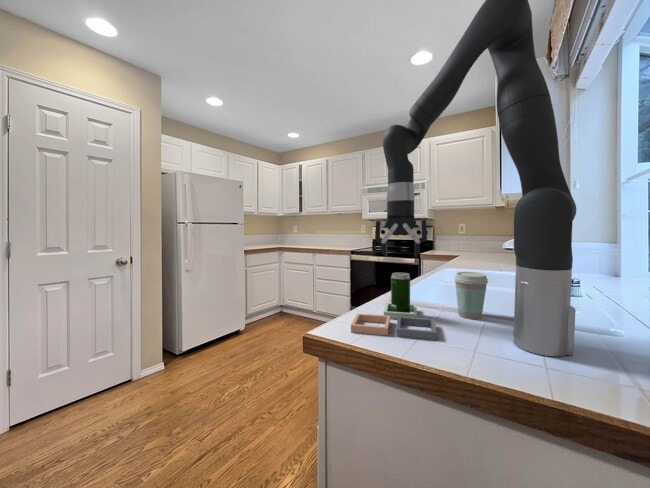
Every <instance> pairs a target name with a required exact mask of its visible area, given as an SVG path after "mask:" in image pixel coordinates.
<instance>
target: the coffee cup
mask: <svg viewBox="0 0 650 488" xmlns="http://www.w3.org/2000/svg"><path fill="white" fill-rule="evenodd" d="M453 280H454V285H455V291H456V302H457V310H458V311H457V313H458V315H459V317H461V318H464V319H469V320H479V319H481V318H482V316H483V311H484V304H485V299H486V298H485V297H486V292H487V284H488V283H489V282H488V281H489V280H488V277H487V274H485V273H482V272H475V271H458V272H456V273H455V276H454V279H453Z"/></svg>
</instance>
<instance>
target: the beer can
mask: <svg viewBox="0 0 650 488" xmlns="http://www.w3.org/2000/svg"><path fill="white" fill-rule="evenodd" d="M390 298H391V300H390V303H391V310H390V312H404V313H411V311H410V304H411V277H410V273H408V272H399V271H397V272H392V273H391V277H390Z"/></svg>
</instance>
